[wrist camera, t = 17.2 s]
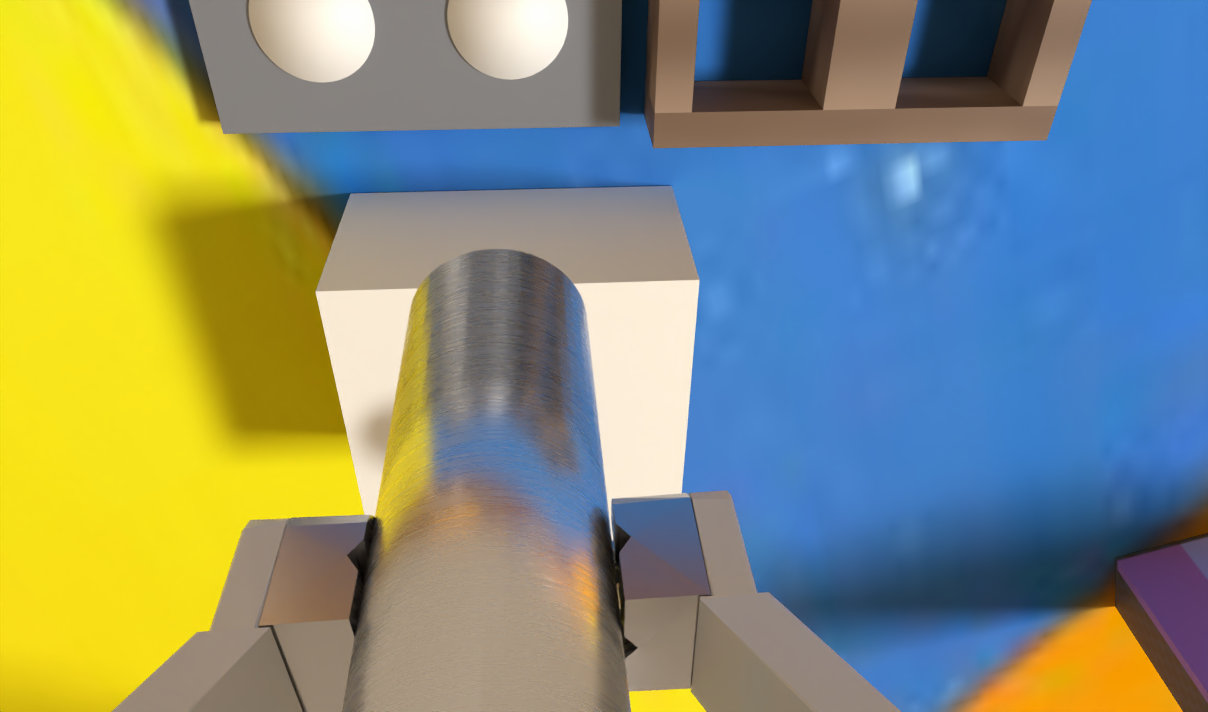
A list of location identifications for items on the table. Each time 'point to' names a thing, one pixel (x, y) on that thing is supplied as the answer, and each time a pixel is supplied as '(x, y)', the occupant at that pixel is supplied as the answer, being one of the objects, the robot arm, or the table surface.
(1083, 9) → the socket board
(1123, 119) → the table surface
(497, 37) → the board
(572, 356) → the steel pin
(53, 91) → the table surface
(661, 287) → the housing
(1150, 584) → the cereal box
